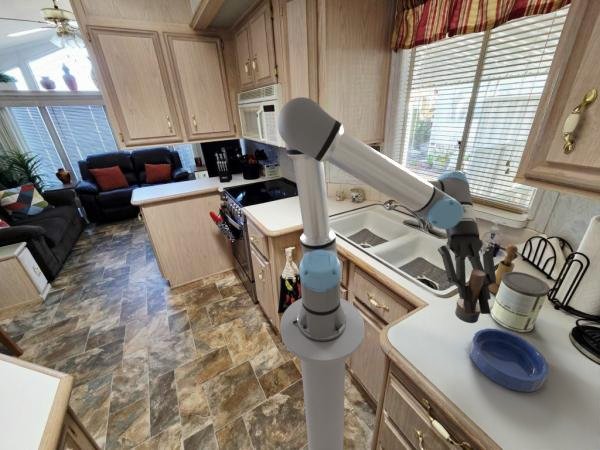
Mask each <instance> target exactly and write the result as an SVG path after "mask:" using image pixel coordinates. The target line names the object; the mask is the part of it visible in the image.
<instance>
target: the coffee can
mask: <svg viewBox="0 0 600 450" xmlns="http://www.w3.org/2000/svg"><path fill="white" fill-rule="evenodd" d="M550 291H551V288H550V286H549V285H548V283H547V282H546V281H544V280H543V279H541V278H539V277H537V276H535V275H532V274H529V273H526V272H521V271H512V272H506V273H504V274H503V276H502V280H501V283H500V286H499V289H498V293H497V294H496V296H495V298H494V302H493V304H492V308H491V309H490V312H491V314H490V315H491V317H492V319H493V320H494V321H495V322H497V323H498V324H499V325H501V327H504V328H507V329H509V330H511V331H514V332H519V333H528V332H530V331H532V330H533V329H534V326H535V323H536V321H537V318H538V317H539V314H540V311H541V309H542V308H543V305H544V302H545V300H546V298H547V296H548V294H549V293H550Z"/></svg>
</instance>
